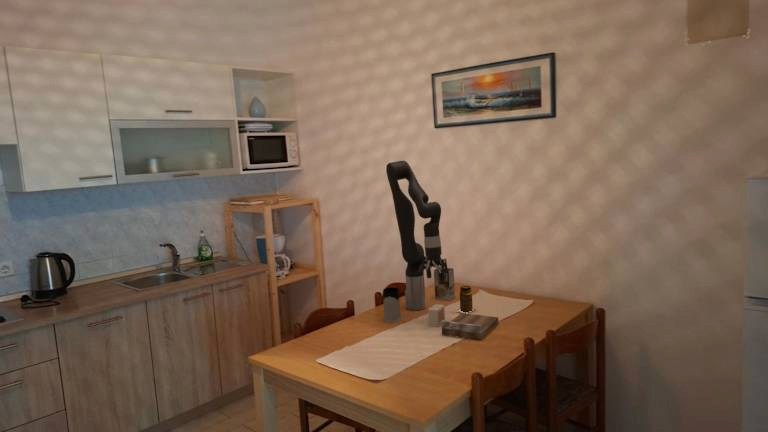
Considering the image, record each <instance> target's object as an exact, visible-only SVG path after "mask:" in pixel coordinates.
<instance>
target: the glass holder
mask: <svg viewBox="0 0 768 432" xmlns="http://www.w3.org/2000/svg"><path fill="white" fill-rule="evenodd" d="M382 292H383V294H382V295H383V298H382V299H383V300H382V301H383V314H384V316H383V322H385V323H387V324H394V323H400V322H401V321H402V320H403V318H402V316H401V301H400V300H401V299H400V289H399V288H398V287H386V288H383V290H382Z"/></svg>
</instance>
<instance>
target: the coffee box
mask: <svg viewBox="0 0 768 432" xmlns="http://www.w3.org/2000/svg"><path fill="white" fill-rule="evenodd" d="M440 269H441V268H440ZM444 269H445V267H444ZM447 269H448V271H446V272H444V276H445V279H444V280H443V281H440V275H439V273H440V272H439V271H438V269H436V268H435V269H434V270H433V279H434V280H433V281H434V295H435V298H434V299H435V300H443V301H452V300H454V299H455V298H456V294H455V293H456V292H455V291H456V290H455V275H454V273H455V272H454V268H453V267H451V268H450V267H447Z"/></svg>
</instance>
